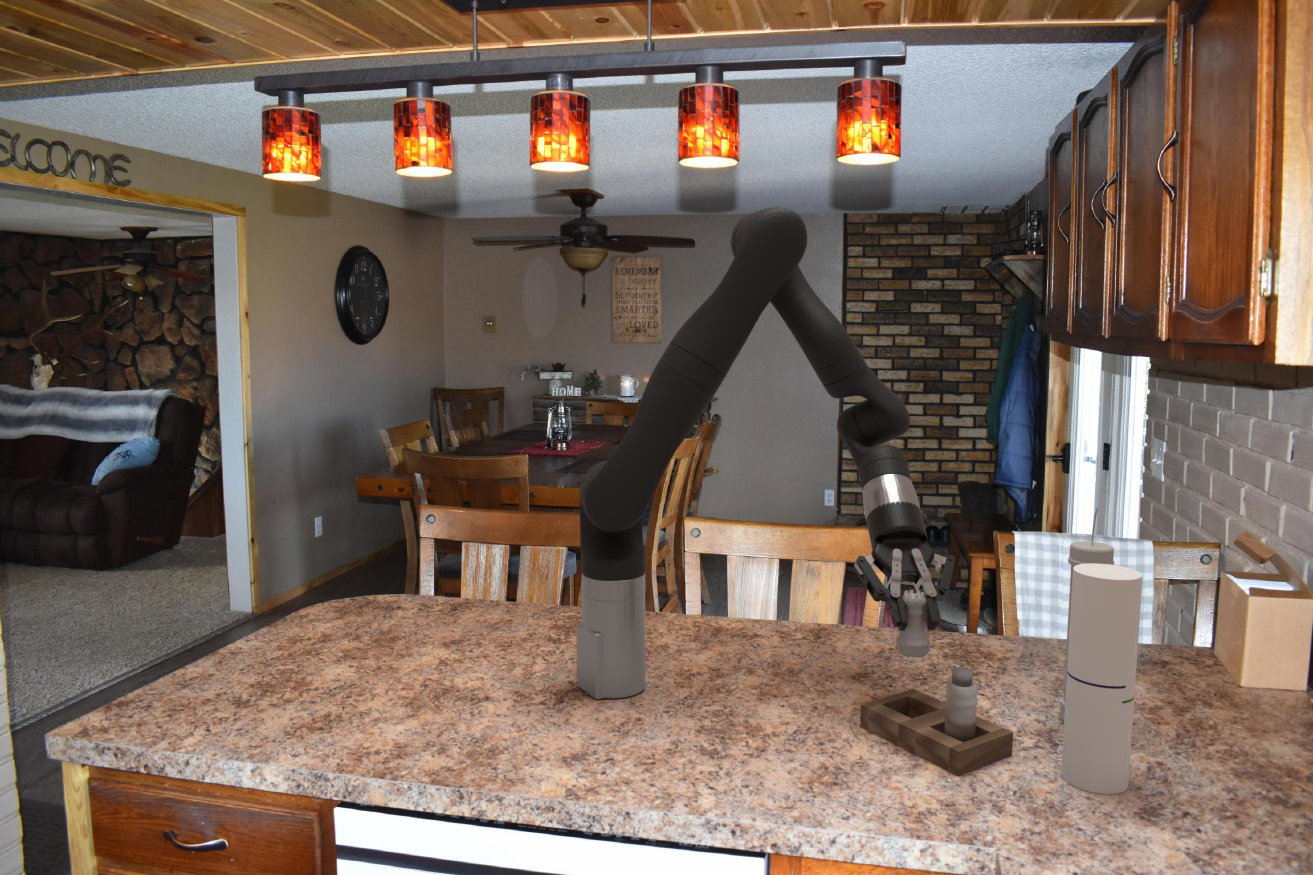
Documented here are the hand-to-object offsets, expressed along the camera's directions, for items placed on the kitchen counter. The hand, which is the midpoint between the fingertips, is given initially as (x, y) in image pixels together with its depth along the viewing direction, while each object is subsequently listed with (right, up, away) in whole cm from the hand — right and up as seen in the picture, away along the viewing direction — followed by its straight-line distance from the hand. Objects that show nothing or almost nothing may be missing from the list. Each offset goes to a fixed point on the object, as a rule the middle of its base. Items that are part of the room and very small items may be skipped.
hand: (918, 627), depth 117 cm
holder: (+2, -15, 0) cm, 15 cm away
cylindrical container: (+18, -16, -10) cm, 26 cm away
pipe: (+24, -14, +6) cm, 28 cm away
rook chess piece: (0, -4, +3) cm, 5 cm away
